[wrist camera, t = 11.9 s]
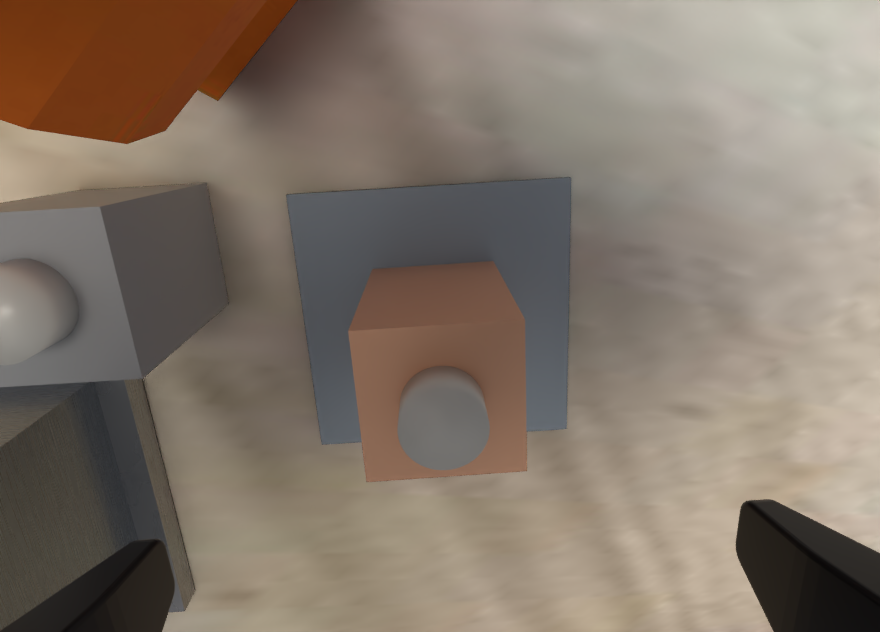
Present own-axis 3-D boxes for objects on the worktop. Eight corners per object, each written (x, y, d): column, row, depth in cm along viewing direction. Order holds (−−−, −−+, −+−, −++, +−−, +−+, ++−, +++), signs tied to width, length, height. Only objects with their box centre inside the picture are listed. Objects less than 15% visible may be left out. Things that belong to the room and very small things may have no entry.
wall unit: (71, 599, 22) (-170, 916, 13) (-15, 347, 19) (-422, 544, 10) (195, 590, 22) (38, 901, 13) (131, 338, 19) (-139, 525, 10)
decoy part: (110, 310, 19) (-73, 413, 12) (79, 190, 17) (-146, 226, 10) (229, 303, 19) (114, 402, 12) (206, 182, 17) (64, 214, 10)
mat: (322, 441, 20) (321, 444, 20) (287, 194, 17) (286, 194, 17) (565, 426, 20) (566, 429, 20) (569, 177, 17) (571, 177, 17)
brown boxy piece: (383, 379, 19) (361, 513, 12) (372, 268, 18) (340, 351, 11) (496, 371, 19) (535, 501, 12) (493, 261, 18) (535, 337, 11)
